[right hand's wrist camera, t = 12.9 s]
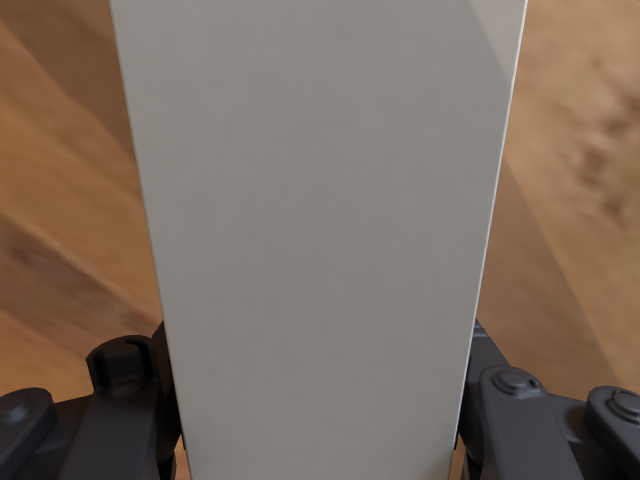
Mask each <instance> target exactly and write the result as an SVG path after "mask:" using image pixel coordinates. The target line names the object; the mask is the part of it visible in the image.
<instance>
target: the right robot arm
mask: <svg viewBox="0 0 640 480" xmlns="http://www.w3.org/2000/svg"><path fill="white" fill-rule="evenodd" d="M86 362H87V366H88V369H89V373H90V377H91V380H92V384H93V388H94V392H93V394H91V395H88V396H84V397H80V398H76V399H71V400H67V401H62V402H58V403H54V402H53V399H52V396H51V393H49V392H48V391H47V390H46V389H42V388H36V387H34V388H26V389H20V390H17V391H14V392H11V393H8V394H6V395H4V396H2V397H0V480H175V475H176V466H177V465H176V458H175V452H174V449H175V446H176V444H177V442H178V439H179V437H180V434H181V435H182V441H183V447H184V450H186V449H185V443H184V437H183V431H182V425H181V420H180V414H179V408H178V402H177V396H176V391H175V385H174V379H173V373H172V367H171V361H170V356H169V350H168V344H167V338H166V332H165V327H164V321H162V323H161V324H160V325H159V327H158V329H157V330H156V331H155V332H154V334H153V335H152V338H149V337H146V336H142V335H127V336H123V337H118V338H114V339H112V340H110V341H107V342H105V343H103V344H101V345H100V346H98V347H97V348H95V349H94V350H92V351H91V353H90V354H89V355H88V356H87V357H86ZM459 433H460V435H461V438H462V440H463V443H464V445H465V447H466V452H465V458H464V463H463V468H462V474H461V479H460V480H640V395H638V394H636V393H634V392H631V391H629V390H626V389H622V388H619V387H611V386H600V387H595V388H594V389H592V390H591V391H590V392H589V395H588V398H587V401H586V402H585V401H581V400H576V399H572V398H567V397H563V396H558V395H554V394H551V393H547V391H546V389H545V388H544V387H543V385H542V384H541V382H540V381H539V380H537V379H536V378H535V377H534V376H532V375H531V374H530V373H527V372H525V371H523V370H521V369H519V368H516V367H512V366H510V365H509V363H508V362H507V360H506V359H505V358H504V356H503V355H502V353H501V352H500V351H499V349H498V348H497V347H496V345H495V344H494V342H493V341H492V340H491V338H490V337H488V334H487V333H486V331H485V330H484V328H482V326H481V324H480V323H479V321H478V320H477V319H476V317H475V322H474V329H473V335H472V341H471V347H470V353H469V359H468V365H467V371H466V377H465V383H464V389H463V395H462V401H461V407H460V413H459V419H458V425H457V431H456V437H455V443H454V450H456V445H457V440H458V434H459Z"/></svg>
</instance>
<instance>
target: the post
mask: <svg viewBox="0 0 640 480" xmlns="http://www.w3.org/2000/svg"><path fill="white" fill-rule="evenodd" d="M108 1H109V7H110V12H111V18H112V24H113V30H114V36H115V41H116V47H117V53H118V59H119V65H120V71H121V76H122V82H123V88H124V94H125V100H126V105H127V111H128V117H129V123H130V129H131V135H132V140H133V146H134V152H135V158H136V164H137V169H138V175H139V181H140V187H141V193H142V199H143V204H144V210H145V216H146V222H147V228H148V233H149V239H150V245H151V251H152V257H153V263H154V268H155V274H156V280H157V286H158V292H159V297H160V303H161V309H162V315H163V321H164V327H165V332H166V338H167V344H168V350H169V356H170V361H171V367H172V373H173V379H174V385H175V391H176V396H177V402H178V408H179V414H180V420H181V425H182V431H183V437H184V443H185V449H186V455H187V460H188V466H189V472H190V478H191V480H449V474H450V468H451V462H452V456H453V450H454V443H455V437H456V431H457V425H458V419H459V413H460V407H461V401H462V395H463V389H464V383H465V377H466V371H467V365H468V359H469V353H470V347H471V341H472V335H473V329H474V322H475V316H476V310H477V304H478V298H479V292H480V286H481V280H482V274H483V268H484V262H485V256H486V250H487V244H488V238H489V232H490V226H491V220H492V214H493V207H494V201H495V195H496V189H497V183H498V177H499V171H500V165H501V159H502V153H503V147H504V141H505V135H506V129H507V123H508V117H509V111H510V105H511V99H512V92H513V86H514V80H515V74H516V68H517V62H518V56H519V50H520V44H521V38H522V32H523V26H524V20H525V14H526V8H527V2H528V0H108Z"/></svg>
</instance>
